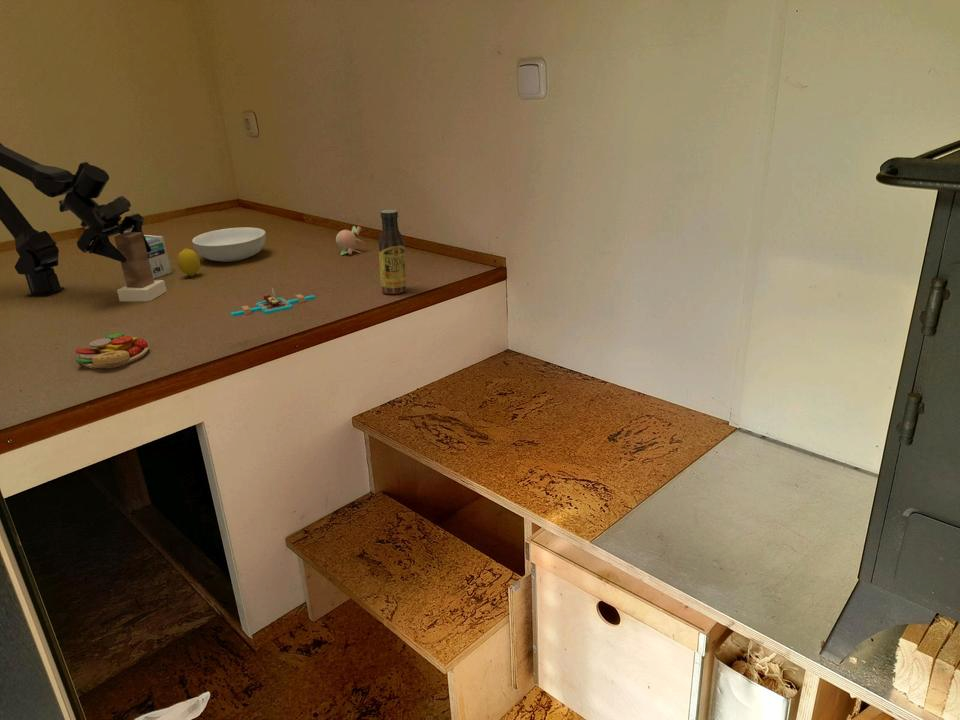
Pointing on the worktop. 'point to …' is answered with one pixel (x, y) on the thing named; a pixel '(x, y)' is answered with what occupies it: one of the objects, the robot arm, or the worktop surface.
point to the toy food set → (112, 351)
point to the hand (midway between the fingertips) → (138, 256)
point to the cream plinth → (142, 292)
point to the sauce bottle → (391, 255)
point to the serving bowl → (230, 243)
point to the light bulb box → (158, 256)
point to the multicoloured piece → (272, 304)
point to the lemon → (188, 262)
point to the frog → (348, 240)
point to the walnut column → (134, 259)
